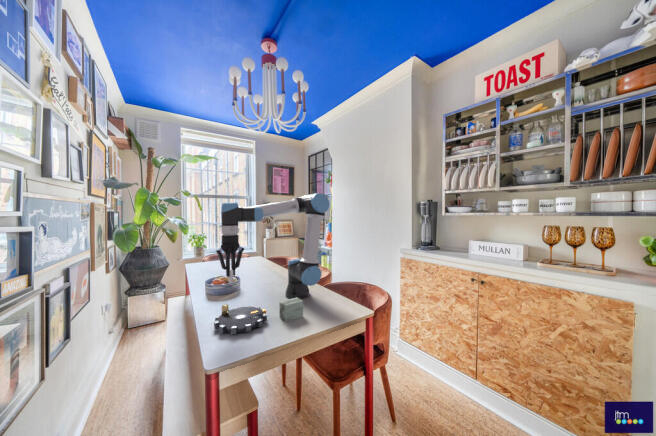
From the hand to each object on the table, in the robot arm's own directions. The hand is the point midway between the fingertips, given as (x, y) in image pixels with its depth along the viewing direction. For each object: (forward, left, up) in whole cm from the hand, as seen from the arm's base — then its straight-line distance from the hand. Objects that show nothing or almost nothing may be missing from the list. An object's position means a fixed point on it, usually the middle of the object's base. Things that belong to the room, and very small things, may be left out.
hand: (230, 282), depth 110 cm
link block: (+15, +25, -18) cm, 34 cm away
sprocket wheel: (+7, +3, -18) cm, 20 cm away
